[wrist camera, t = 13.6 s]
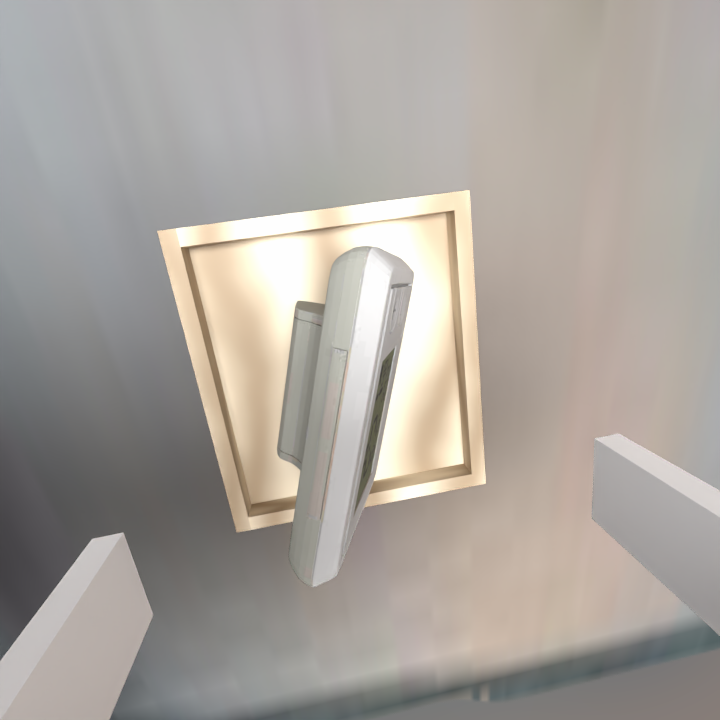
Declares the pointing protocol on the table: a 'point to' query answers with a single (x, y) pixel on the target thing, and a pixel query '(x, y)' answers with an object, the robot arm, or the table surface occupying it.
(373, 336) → the digital clock
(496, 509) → the table surface
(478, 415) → the birch tray
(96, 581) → the robot arm
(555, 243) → the table surface
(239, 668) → the table surface
